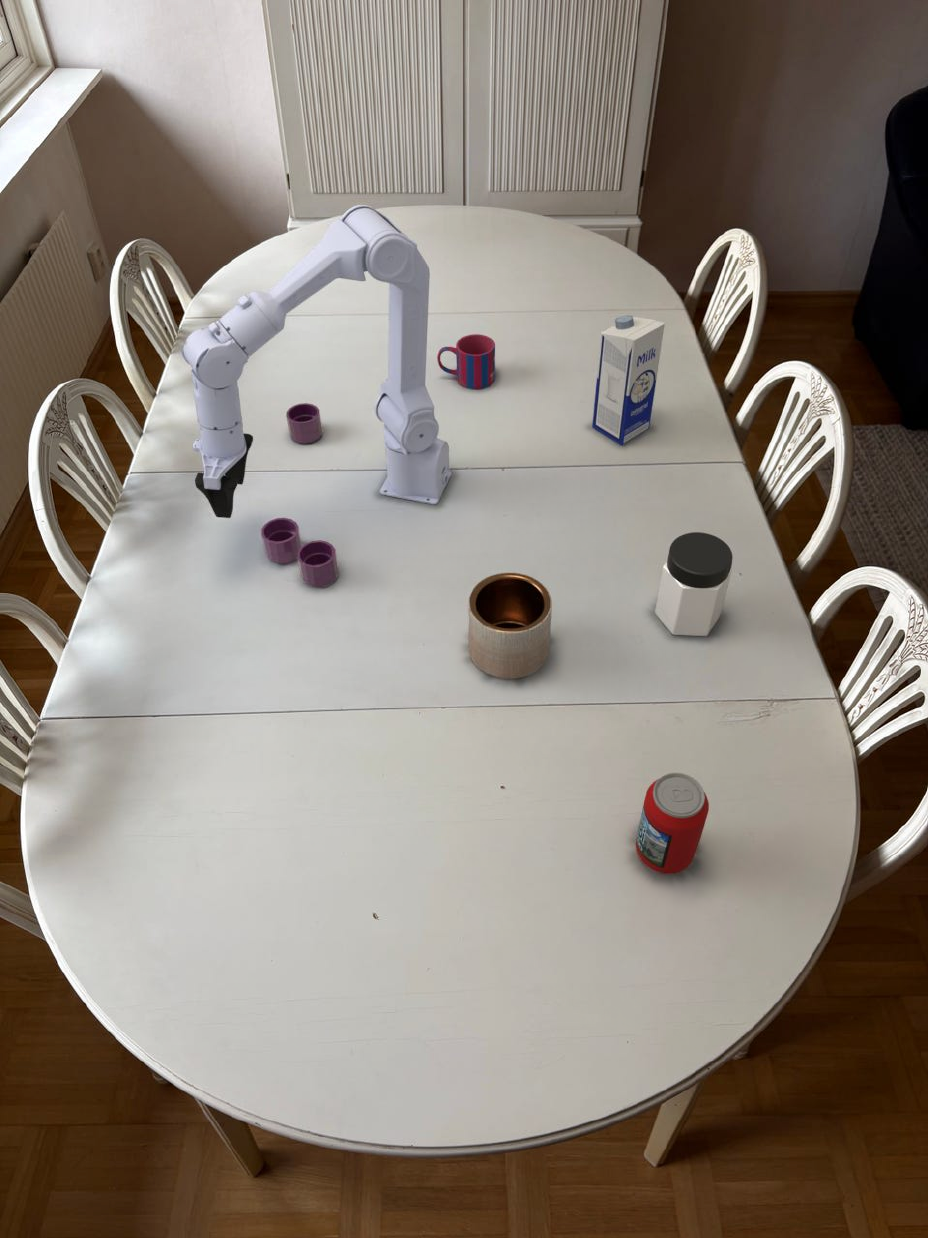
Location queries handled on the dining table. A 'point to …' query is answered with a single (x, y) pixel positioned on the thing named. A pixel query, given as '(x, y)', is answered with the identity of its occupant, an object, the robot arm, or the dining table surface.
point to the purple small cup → (318, 563)
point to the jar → (694, 584)
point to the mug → (473, 361)
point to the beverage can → (671, 823)
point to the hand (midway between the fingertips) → (229, 498)
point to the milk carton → (627, 377)
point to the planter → (509, 625)
